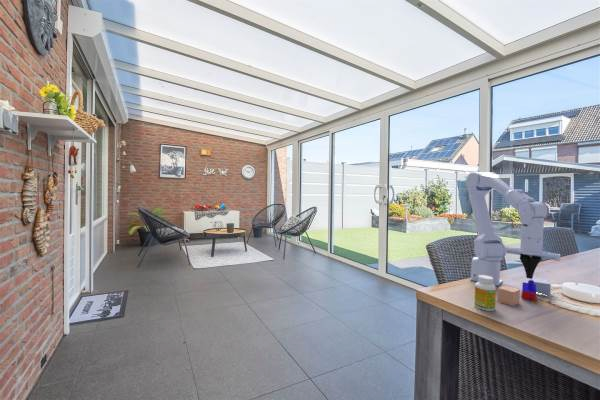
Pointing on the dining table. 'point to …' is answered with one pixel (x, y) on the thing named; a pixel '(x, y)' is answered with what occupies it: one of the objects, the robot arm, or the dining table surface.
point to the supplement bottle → (485, 293)
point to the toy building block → (529, 290)
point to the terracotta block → (508, 295)
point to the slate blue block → (542, 286)
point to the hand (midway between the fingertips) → (529, 277)
